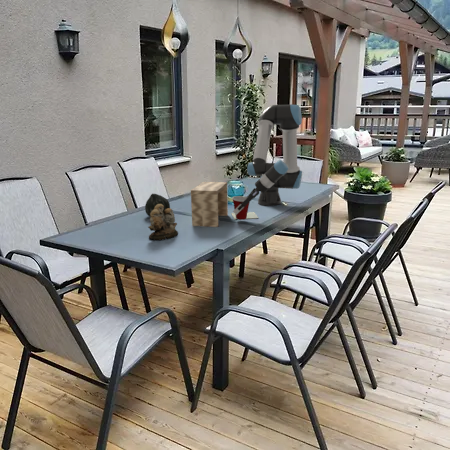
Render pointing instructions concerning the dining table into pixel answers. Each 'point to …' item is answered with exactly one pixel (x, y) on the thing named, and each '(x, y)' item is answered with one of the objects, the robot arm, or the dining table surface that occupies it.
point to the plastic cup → (243, 212)
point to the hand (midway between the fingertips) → (236, 210)
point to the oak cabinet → (209, 203)
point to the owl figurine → (162, 223)
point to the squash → (155, 203)
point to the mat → (249, 215)
